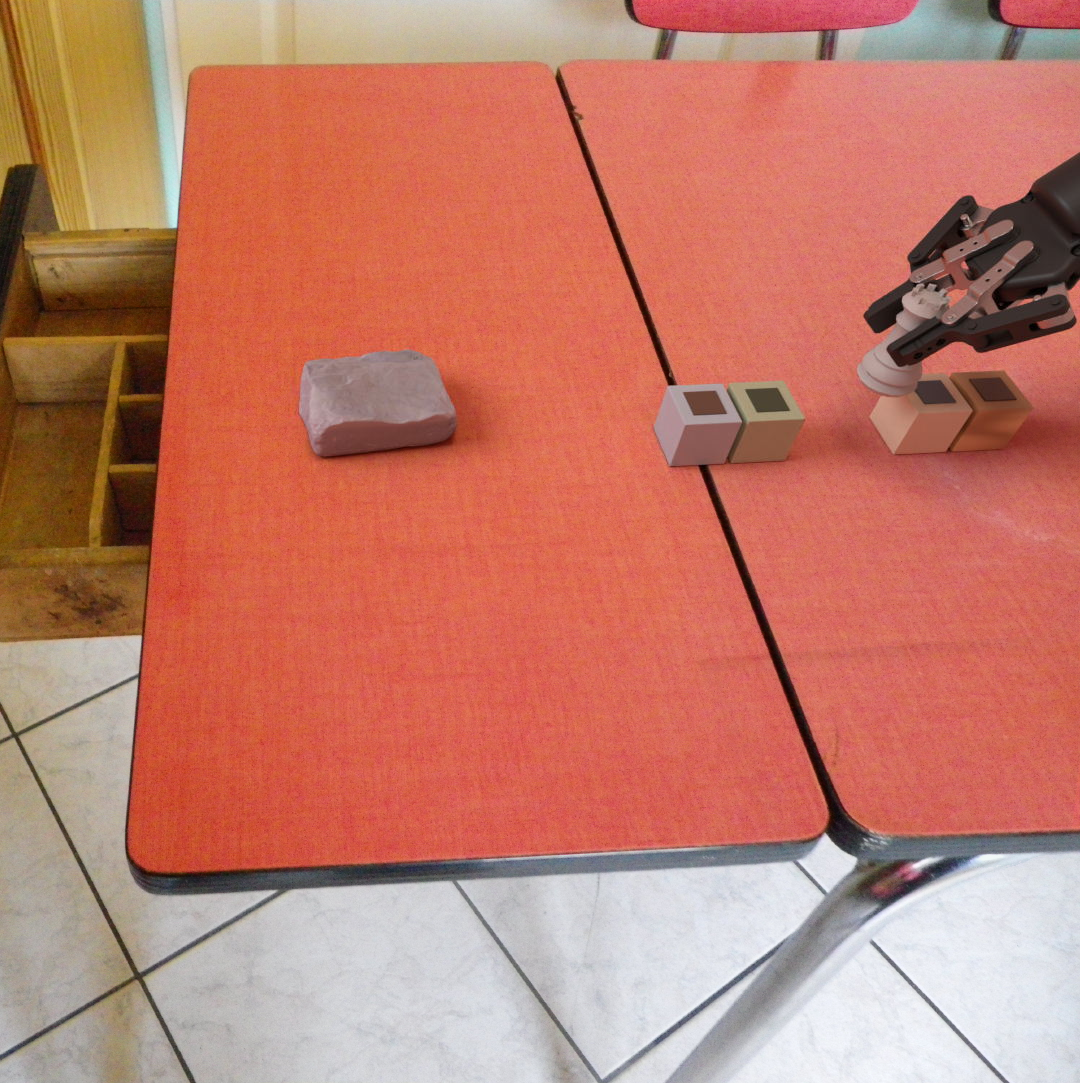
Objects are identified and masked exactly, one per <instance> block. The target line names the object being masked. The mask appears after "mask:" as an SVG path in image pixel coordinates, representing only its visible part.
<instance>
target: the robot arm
mask: <svg viewBox="0 0 1080 1083" xmlns="http://www.w3.org/2000/svg"><path fill="white" fill-rule="evenodd" d="M906 259H907V261H908V264H909V269H910V275H909V277H908V279H907V280H906V281H904V282H903V283H901V284H900V285H898V286H897V287H894V288H893V289H892V290H890V291H888V292H887V293H886V294H884V295H883V296H881V297H880V298H878V299H877V300H875V301H873V302H872V303H871V304H870V305H869V306H868V307H867V309H866V311H864V313H863V315H862V317H863V319H864V321H865V322H866V323H867V325H868V326H869V327H870V329H871V331H872V332H873V333H874V334H876V335H877V334H881V333H883V332H885V331H886V330H888V329H890V328H891V327H894V326H895V324H896V322H897V320H896V317H897V315H898V314H899V313H900V312H902V311H903V310H904V307H903V304H902V297H903V296H904V295H905V294H907V293H909V292H911V291H912V290H913V288H916V286H917V285H918V284H922V283H923V284H924V285H925V286H924V288H923V289H927V287H928V285H929V283H930V284H934V285H937V286H936V288H935V289H934V291H936V292H938V293H939V292H940V290H941V289H943V288H944V289H945V290H946V291H948V293H950V292H952V291H955V290H959V291H965V290H966V294H965V295H964V296H963V297H961V299H959V300H958V301H957V302H956V303H954V304H953V305H952V306H951V307H950V308H949V309H948V310H947V311H946V312H945V313H944V314H943V315H942V317H941V319H940V320H938V319H937V317H936V316H934V317H933V318H931V319H929V320H928V321H926V322H925V323H923V324H921V325H920V326H918V327H916V328H915V329H913V330H912V331H910V332H908V333H907V334H905V335H903V336H902V337H900V338H898V339H897V340H895V341H894V342H892V343H890V344H889V345H888V346H887V348H886V351H887V352H888V354H889V355H890V357H891V358H892V359H893V361H894V362H895V364H896V365H897V366H898V367H904V366H906V365H908V366H911V365H914V364H917V363H919V362H921V361H922V362H923V361H924V360H925V359H927V358H929V357H931V356H933V355H934V354H937V353H938V352H939V351H941V350H943V349H944V348H946V347H947V346H949V345H951V344H953V343H964V344H965V345H968V346H970V347H972V348H973V350H974V351H975V352H976V353H978V354H984V353H988V352H992V351H995V350H1000V349H1002V348H1006V347H1010V346H1013V345H1017V344H1020V343H1024V342H1028V341H1032V340H1035V339H1036V340H1037V339H1039V338H1043V337H1046V336H1051V335H1054V334H1057V333H1061V332H1064V331H1065V332H1066V331H1068V330H1071V329H1072V328H1074V327H1075V325H1076V324H1077V322H1078V319H1077V316H1076V315H1075V311H1074V309H1073V307H1072V304H1071V300H1070V293H1069V292H1070V291H1071V290H1072V289H1073V288H1074V287H1076V285H1077V283H1079V281H1080V151H1079V152H1077V153H1076V154H1074V155H1073V156H1070V157H1069V158H1067V159H1066V160H1065V161H1063V162H1062V163H1060V164H1059V165H1056V166H1055V167H1054V168H1052V169H1051V170H1050V171H1048V172H1046V173H1045V174H1042V176H1040V177H1039V178H1036V180H1034V182H1033V183H1032V185H1031V187H1030V189H1029V191H1028V192H1027V193H1026V194H1025V196H1023V197H1021V198H1020V199H1018V200H1015V201H1012V202H1009V203H1007V204H1003V205H1001V206H998V207H997V208H995V209H992V208H989V207H985V206H982V205H980V204H978V202H977V201H976V199H975V197H974V196H973V195H970V194H967V195H964V196H962V197H960V198H958V200H957V201H956V202H955V203H954V204H953V205H952V206H951V207H950V209H948V211H946V212H945V214H944V215H943V216H942V217H941V218H940V219H939V220H938V221H937V223H936V224H935V225H934V226H933V227H932V228H931V229H930V230H929V231H928V233H926V235H924V237H923V238H922V239H921V240H920V241H919V242H918V243H917V244H916V246H914V248H913V249H912V250H910V252H909V253H908V254H907V257H906ZM963 263H965V265H966V267H967V268H964V267H963V265H962V264H963ZM1025 300H1032V301H1029V302H1026V303H1023V302H1024V301H1025Z"/></svg>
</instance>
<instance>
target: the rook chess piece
mask: <svg viewBox="0 0 1080 1083" xmlns="http://www.w3.org/2000/svg"><path fill="white" fill-rule="evenodd" d="M924 286H925V285H924V284H923V283H922V284H918V285H917V286H916V288H913V290H912V291H911V292H909V293H907V294H905V295H904V296H903V297H902V304H903V307H904V310H903V311H902V312H900V313H899V314H898V315H897V317H896V320H897V322H896V324H894V325H893V327H892V329H891V330H890V331H889V333H888V334H887V336H886V337H885V338H884V340H882V342H879V343H878V344H877V345H875V347H873V348H871V349H869V350H868V351H867V352H866V353H865V354H864V355H863V357H862V361H860V362H859V363H858V364H857V369H856V373H857V377H858V379H859V382H860V384H861V385H862V386H864V388H866V389H867V390H868V391H870V392H872V393H874V394H876V395H878V396H881V395H882V396H885V397H900V396H904V395H907V394H910V393H912V392H913V391H914V390H915V389H916V388H917V383H918V381H919V380H920V379H921V377H922V374H923V370H924V368H923V360H922V361H921V362H919V363H917V364H914V365H911V366H908V365H906V366H904V367H898V366H897V365H896V364H895V362H894V361H893V359H892V358H891V357H890V355H889V354H888V352H887V351H886V348H887V346H888V345H889V344H890V343H892V342H894V341H895V340H897V339H898V338H900V337H902V336H903V335H905V334H907V333H908V332H910V331H912V330H913V329H915V328H916V327H918V326H920V325H921V324H923V323H925V322H926V321H928V320H929V319H931V318H933V317H934V316H936V317H937V319H938V320H940V319H941V317H942V315H943V314H944V313H945V312H946V311H947V310H948V309H949V308H951V307H950V303H951V299H952V296H951V295H948V294H949V292H948V291H946V290H945V289H944V288H943V289H941V290H940V292H939V293H938V292H936V291H934V289H935V288H936V286H937V285H934V284H930V283H929V285H928V287H927V289H923V288H924Z"/></svg>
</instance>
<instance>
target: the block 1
mask: <svg viewBox="0 0 1080 1083" xmlns="http://www.w3.org/2000/svg"><path fill="white" fill-rule="evenodd" d="M726 390H727V388H726V387H725V385H724V384H723V383H722V382H720V383H719V382H718V383H700V384H698V383H697V384H680V385H679V384H678V385H677V384H676V385H667V387H666V389H665V392H664V396H663V398H662V401H661V404H660V407H659V410H658V413H657V416H656V419H655V422H654V424H653V430H654V433H655V436H656V437H657V440H658V442H659V444H660V447H661V449H662V451H663V454H664V457H665V458H666V461H667V464H668V466H669V467H685V466H686V467H687V466H705V465H722V464H725V463H726V461H727V458H728V454H729V451H730V449H731V447H732V445H733V442H734V440H735V438H736V435H737V433H738V431H739V428H740V426H741V424H742V420H741V418H740V416H739V414H738V413H737V411H736V409H735V407H734V405H733V403H732V401H731V399H730V397H729V395H728V393H727V391H726Z"/></svg>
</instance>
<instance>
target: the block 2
mask: <svg viewBox="0 0 1080 1083" xmlns="http://www.w3.org/2000/svg"><path fill="white" fill-rule="evenodd" d="M726 391H727V393H728V395H729V397H730V399H731V401H732V403H733V405H734V407H735V409H736V411H737V413H738V414H739V416H740V418H741V420H742V424H741V426H740V428H739V431H738V433H737V435H736V438H735V440H734V442H733V445H732V447H731V449H730V451H729V454H728V456H727V458H728V461H729V463H730V464H744V463H745V464H747V463H762V462H763V463H765V462H782V461H786V460H787V457H788V456H789V453H790V451H791V449H792V448H793V445H794V444H795V441H796V439H797V437H798V435H799V433H800V432H801V429H802V427H803V425H804V424H805V421H806V417H805V414H804V413H803V411H802V410H801V408H800V406H799V404H798V403H797V401H796V399H795V398H794V396H793V394H792V392H791V390H790V389H789V387H788V385H787V383H786V382H785V380H766V381H765V380H764V381H762V380H761V381H740V382H739V381H738V382H729V383H728V385H727V388H726Z"/></svg>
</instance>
